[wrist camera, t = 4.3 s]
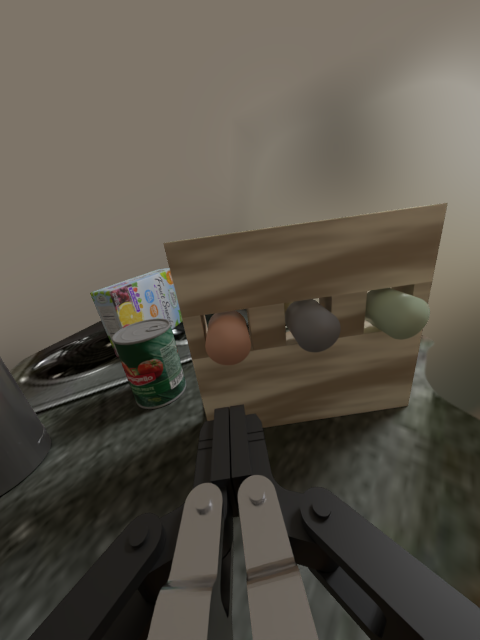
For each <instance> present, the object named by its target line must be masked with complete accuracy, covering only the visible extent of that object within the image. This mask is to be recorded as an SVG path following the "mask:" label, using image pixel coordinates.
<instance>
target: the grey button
mask: <svg viewBox="0 0 480 640" xmlns="http://www.w3.org/2000/svg"><path fill="white" fill-rule="evenodd" d="M285 324H286V326H287V327H288V329H289V331H290V332H291V334H292V335H293V337H294V338H295V340H296V341H297V343H298V344H299V346H300V347H301V348H302V349H304V350H306V351H308V352H321V351H324V350H326V349H328V348H330V347H331V346H332V345H333V344H334V343H335V342H336V341H337V339H338V337H339V335H340V330H341V327H340V322H339V320H338V319H337V317H336V316H335V315H333V314H332V313H331V312H329V311H328V310H327V309H326V308H324V307H323V306H322V305H320V304H319V303H318V302H317V301H315V300H313V299H308V300H302V301H295V302H293V303H291V304H290V305H289V307H288V308H287V310H286V312H285Z"/></svg>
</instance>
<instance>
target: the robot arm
mask: <svg viewBox="0 0 480 640" xmlns="http://www.w3.org/2000/svg"><path fill="white" fill-rule="evenodd" d="M50 447H51V438H50V436H49V434H48V433H47V431H46V429H45V427H44V425H43V424H42V423H41V422H40V420H39V418H38V417H37V415H36V413H35V412H34V410H33V409H32V407H31V405H30V404H29V402H28V400H27V399H26V397H25V396H24V394H23V392H22V391H21V389H20V388H19V386H18V384H17V383H16V381H15V380H14V378H13V376H12V375H11V373H10V372H9V370H8V368H7V367H6V365H5V364H4V362H3V361H2V359H1V357H0V496H1V495H3V494H4V493H6V492H7V491H9V490H10V489H12V488H13V487H15V486H16V485H17V484H18V483H20V482H21V481H22V480H24V479H25V478H26V477H27V476H28V475H29V474H30V473H31V472H33V471H34V470H35V469H36V467H37V466H38V465H39V464H40V463H41V462H42V461H43V459H44V458H45V456H46V455H47V454H48V451H49V449H50ZM238 507H239V509H238ZM239 512H240V520H241V529H242V537H243V545H244V554H245V562H246V571H247V591H248V600H249V609H250V617H251V626H252V635H253V640H319V639H318V636H317V632H316V629H315V625H314V621H313V618H312V614H311V611H310V607H309V603H308V600H307V596H306V593H305V589H304V585H303V582H302V578H301V575H300V572H299V569H298V566H297V564H300V565H303V566H306V567H308V568H309V570H310V571H311V572H312V573H313V575H314V576H315V577H316V578H317V579H318V580H319V581H320V582H321V584H322V585H323V586H324V587H325V588H326V589H327V590H328V592H329V593H330V594H331V595H332V596H333V597H334V598H335V599H336V601H337V602H338V603H339V604H340V605H341V606H342V607H343V608H344V610H345V611H346V612H347V613H348V614H349V615H350V616H351V618H352V619H353V620H354V621H355V622H356V623H357V624H358V625H359V627H360V628H361V629H362V630H363V631H364V632H365V633H366V634H367V636H368V637H369V638H370V639H371V640H480V608H479V607H477V606H476V605H475V604H473V603H472V602H471V601H470V600H468V599H467V598H466V597H465V596H463V595H462V594H461V593H459V592H458V591H457V590H456V589H454V588H453V587H452V586H450V585H449V584H448V583H447V582H445V581H444V580H443V579H442V578H440V577H439V576H438V575H436V574H435V573H434V572H433V571H431V570H430V569H429V568H428V567H426V566H425V565H424V564H422V563H421V562H420V561H419V560H417V559H416V558H415V557H414V556H412V555H411V554H410V553H408V552H407V551H406V550H405V549H403V548H402V547H401V546H399V545H398V544H397V543H396V542H394V541H393V540H392V539H391V538H389V537H388V536H387V535H385V534H384V533H383V532H382V531H380V530H379V529H378V528H377V527H375V526H374V525H373V524H371V523H370V522H369V521H368V520H366V519H365V518H364V517H363V516H361V515H360V514H359V513H357V512H356V511H355V510H354V509H352V508H351V507H350V506H348V505H347V504H346V503H345V502H343V501H342V500H341V499H340V498H338V497H337V496H336V495H334V494H333V493H332V492H330V491H329V490H327V489H325V488H322V487H312V488H310V489H308V490H306V491H305V492H304V493H298V492H293V491H289V490H286V489H284V488H283V487H281V486H280V485H279V484H278V483H277V482H276V481H275V479H274V478H273V476H272V473H271V468H270V463H269V458H268V453H267V448H266V443H265V438H264V433H263V427H262V422H261V420H260V419H259V417H258V416H257V415H256V413H255V414H249V415H246V414H245V408H244V404H241V405H235V406H230V409H229V407H223V408H216V409H215V410H214V420H211V421H205V423H204V425H203V426H202V428H201V430H200V435H199V444H198V452H197V460H196V468H195V476H194V484H193V489H192V491H191V492H190V493H189V495H188V497H187V499H186V501H185V502H184V503H183V504H182V505H181V506H180V507H179V508H177V509H176V510H174V511H172V512H170V513H168V514H166V515H165V516H163V517H161V518H159V517H158V516H157V515H156V514H153V513H145V514H142V515H140V516H138V517H136V518H135V519H134V520H133V521H132V522H131V523H130V524H129V525H128V526H127V527H126V528H125V529H124V530H123V531H122V533H121V534H120V535H119V536H118V537H117V538H116V539H115V541H114V542H113V543H112V544H111V545H110V546H109V547H108V549H107V550H106V551H105V552H104V553H103V554H102V555H101V557H100V558H99V559H98V560H97V561H96V562H95V563H94V564H93V566H92V567H91V568H90V569H89V570H88V571H87V572H86V574H85V575H84V576H83V577H82V578H81V579H80V580H79V582H78V583H77V584H76V585H75V586H74V587H73V588H72V590H71V591H70V592H69V593H68V594H67V595H66V596H65V597H64V599H63V600H62V601H61V602H60V603H59V604H58V605H57V607H56V608H55V609H54V610H53V611H52V612H51V613H50V615H49V616H48V617H47V618H46V619H45V620H44V621H43V623H42V624H41V625H40V626H39V627H38V628H37V629H36V630H35V632H34V633H33V634H32V635H31V636H30V637H29V638H28V640H233V630H232V591H233V553H234V540H233V517H239ZM147 638H148V639H147Z"/></svg>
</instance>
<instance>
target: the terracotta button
mask: <svg viewBox="0 0 480 640" xmlns="http://www.w3.org/2000/svg"><path fill="white" fill-rule="evenodd" d="M205 348H206V352H207V354H208V356H209V357H210V358H211V359H212V360H213V361H214V362H216V363H218V364H221V365H235V364H237V363H240V362H241V361H243V360H244V359H245V358H246V357H247V356H248V354H249V352H250V349H251V341H250V336H249V332H248V328H247V324H246V321H245V319H244V317H243V316H242V315H241V314H240V313H238V312H237V311H234V310H233V311H227V312H220V313H215V314H214V315H213V316H212V317H211V319H210V321H209V324H208V331H207V337H206V343H205Z"/></svg>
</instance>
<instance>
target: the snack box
mask: <svg viewBox="0 0 480 640" xmlns="http://www.w3.org/2000/svg"><path fill="white" fill-rule="evenodd" d="M90 294H91V296H92V299H93V301H94V304H95V306H96V309H97V311H98V313H99V316H100V318H101V321H102V323H103V325H104V328H105V330H106V332H107V335H108V337H109V340H110V342H111V344H112V347H113V349H114V352H115V354H116V356H117V357H119V355H118V352H117V350H116V347H115V344H114V342H113V341H112V337H113V335H114V334H115V333H116V332H117V331H119V330H120V329H122V328H124V327H126V326H128V325H131V324H134V323H136V322H140V321H144V320H149V319H159V318H160V319H167V320H169V321H170V324H171V329H173V328H174V327H176V326H177V325H178V324H180V323H181V322H182V321H183V320H182V316H181V312H180V308H179V304H178V300H177V296H176V292H175V288H174V284H173V280H172V276H171V272H170V268H166V269H159V270H156V271H152V272H149V273H146V274H143V275H141V276H137V277H135V278H132V279H129V280H126V281H123V282H120V283H117V284H114V285H111V286H108V287H106V288H103V289H100V290H96V291H94V292H91V293H90Z"/></svg>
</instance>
